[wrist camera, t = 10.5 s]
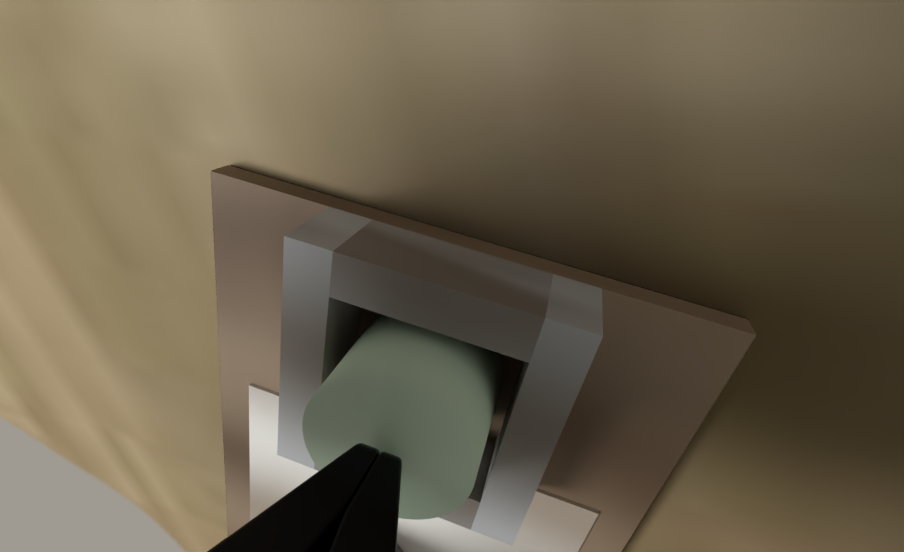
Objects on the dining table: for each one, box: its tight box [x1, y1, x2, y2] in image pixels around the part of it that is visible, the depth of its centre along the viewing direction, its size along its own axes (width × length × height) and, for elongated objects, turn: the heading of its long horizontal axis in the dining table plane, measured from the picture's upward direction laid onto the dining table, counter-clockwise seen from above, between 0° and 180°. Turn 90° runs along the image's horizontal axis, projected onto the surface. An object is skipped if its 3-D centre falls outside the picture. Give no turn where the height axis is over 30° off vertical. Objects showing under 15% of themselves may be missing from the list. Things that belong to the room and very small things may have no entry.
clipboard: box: [211, 165, 756, 552], centre depth 14 cm, size 20×12×2 cm, turn 169°
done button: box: [302, 314, 503, 520], centre depth 10 cm, size 3×3×3 cm
